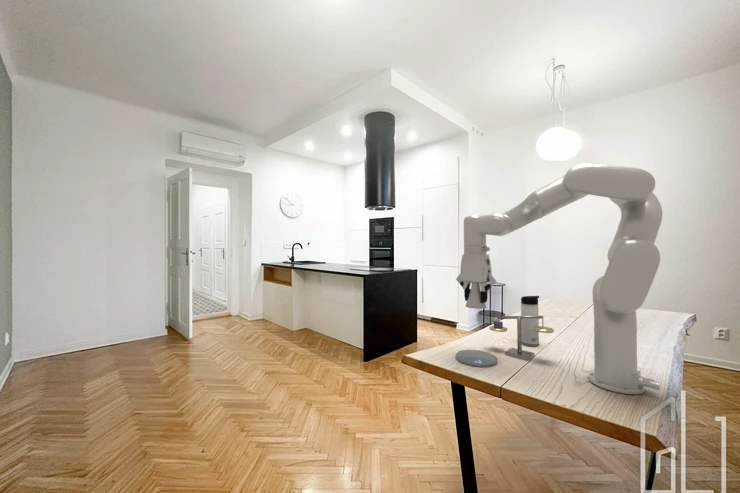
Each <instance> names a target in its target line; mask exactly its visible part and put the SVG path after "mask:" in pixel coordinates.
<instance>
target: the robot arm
mask: <svg viewBox="0 0 740 493" xmlns="http://www.w3.org/2000/svg"><path fill="white" fill-rule="evenodd" d="M655 188H656V180H655V177H654V175H653V174H651V173H650V171H648V170H645V169H643V168H637V167H633V166H632V167H630V166H619V165H610V164H603V163H602V164H601V163H588V162H586V163H583V162H582V163H577V164H575V165H573V166H572V167H570V168H569V169H568V170H567V171H566V173H565V175H563V176H561V177H559V178H557V179H555V180H553V181H551V182H550V183H547V184H546V185H543V186H541V187H540V188H537V190H534V191H532V192H531V193H530V194H529V195H527V196H526V198H525V199H524V200H523V201H522V202H520V203H518V205H516V206H515V207H513V208H510V209H509V210H507V211H504V212H502V213H499V212H498V213H497V212H496V213H494V212H493V213H489V214H484V215H468V216H465V217H464V218H463V253H462V255H461V260H460V261H461V262H460V273H459V274H458V275H457V277H456V278H455V280H456V282H458V284H459V285H460V286H461V287H462V290H464V292H463V293H464V301H466V302H467V300H468V297H469V294H470V291H471V286H472V282H475V283H479V286H480V291H481V292H480V302H481V303H485V304H486V303H487V301H488V291H489V290H490V289H491V288H492V287H493V286H494V285H495V284H497V279H495V277H494V276H493V270H492V263H491V259H490V254H487V253H488V252H489V251H491V249H490V247H489V246H487V236H497V237H502V236H507V235H509V234H511V233H513V232H515V231H516V230H519V229H521V228H523V227H525V226H527V225H529V224H531V223H533V222H535V221H537V220H539V219H542V218H544V217H546V216H549V214H551V213H553V212H556V211H558V210H559V209H562V208H564V207H566V206H568V205H570V204H572V203H574V202H577V201H579V200H581V199H582V198H585V197H586V196H588V195H591V196H595V197H603V198H609V199H610V201H611V202H613V203H614V204H615V205H616V206H618V208H619V210H620V213H621V215H620V216H621V217H620V221H619V222H618V223H619V224H618V226H617V230H616V232H615V235H614V237H613V240H612V242H611V244H610V247H609V248H608V251H607V256H606V257H607V260H608V264H607V267H606V269H605V273H604V275H602V276H600V277H598V278H597V279H596V281H595V282H594V284H593V287H592V303H593V326H594V327H593V339H594V340H593V341H594V344H593V345H594V347H593V348H594V349H593V350H594V351H593V352H594V355H593V356H594V371H592V372H590V373H588V376H587V378H588V380H589V382H590V383H592V384H594V385H595V386H597V387H599V388H601V389H605V390H607V391H611V392H614V393H619V394H623V395H641V394H644V393H645V392H646V388H649V389H652V390H656V391H660V390H661V383H660V382H658V381H655V379H653V378H650V377H649V378H648V377H644V376H643V375H641V370H638V335H637V334H638V322H637V321H638V320H637V312H636V311H637V310H639V309H640V308H641V307H642V306H643V304H644V303H645V301H646V298H647V297H648V294H649V291H650V289H651V287H652V284H653V282H654V279H655V278H656V274H657V272H658V269H659V268H660V267H659V266H660V263H661V253H660V251H659V248H658V247H657V246H656V245H655V242H656V240H657V236H658V234H659V230H660V227H661V224H662V220H663V207H662V205H661V202H660V200H659V199H658V197H657V196H656V194H655V193H654V189H655Z"/></svg>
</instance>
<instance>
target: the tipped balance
mask: <svg viewBox="0 0 740 493" xmlns="http://www.w3.org/2000/svg"><path fill="white" fill-rule="evenodd" d="M521 319H539V320H540V319H541V320H542V322H541V323H542V326H540V325H539V326H534V327H532V328H533V330H534V331H537V332H539V333H543V334H551V333H554V332H555V330H554V328H551V327H548V326H544V315H538V316H521V315H504V316H501V315H498V316H497V320H495V321H493V325H490V326H488V327H489V330H490V331H492V332H498V333H505V332H508V328H507V327H506V326H504V324H503V321H501V320H516V321H517V322H516V328H517V329H516V331H517V333H516V335H517V343H516V344H517V345H516V346H517V348H515V347H510V348H509V349H506V350H505V352H504V354H505V356H508V357H512V358H517V359H519V360H520V359H521V360H525V361H530V360H531V359H533V358H534V357H535V355H536V354H535V352H532V351H528V350H525V349H524V350H523V344H522V326H521Z"/></svg>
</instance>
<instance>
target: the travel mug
mask: <svg viewBox="0 0 740 493" xmlns="http://www.w3.org/2000/svg"><path fill="white" fill-rule="evenodd" d="M539 299H540V296H539V295H526V296H522V297H521V296H520V316H539ZM539 320H540V319H521V326H522V346H525V347H530V348H532V347H533V348H534V347H535V348H536V347H538V346H540V342H539V341H540V338H539V337H540V336H539V335H540V332H537V331H534V330H533V328H532V327H534V326H540V325H539V324H540V322H539Z"/></svg>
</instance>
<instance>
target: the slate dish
mask: <svg viewBox="0 0 740 493" xmlns="http://www.w3.org/2000/svg"><path fill="white" fill-rule="evenodd" d="M498 359H499V358H498V357H497V356H496V355H495V354H493V353H491V352H487V351H484V350H478V349H477V350H476V349H464V350H458V351H457V352H456V353H455V360H456V361H457V362H459V363H461V364H462V365H466V366H470V367H475V368H491V367H495V366H497V365H498V361H499V360H498Z"/></svg>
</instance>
